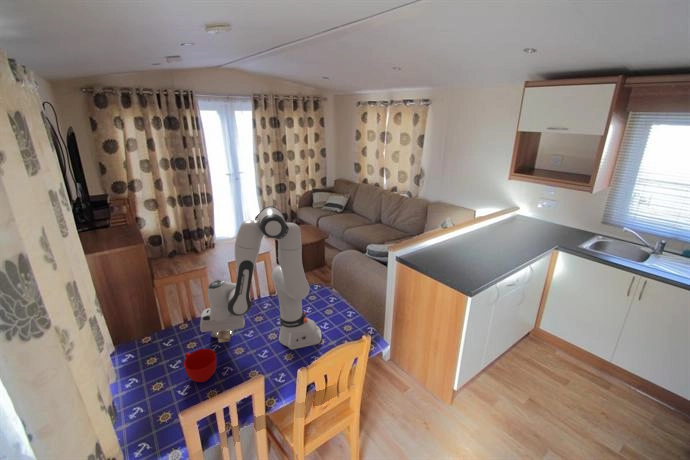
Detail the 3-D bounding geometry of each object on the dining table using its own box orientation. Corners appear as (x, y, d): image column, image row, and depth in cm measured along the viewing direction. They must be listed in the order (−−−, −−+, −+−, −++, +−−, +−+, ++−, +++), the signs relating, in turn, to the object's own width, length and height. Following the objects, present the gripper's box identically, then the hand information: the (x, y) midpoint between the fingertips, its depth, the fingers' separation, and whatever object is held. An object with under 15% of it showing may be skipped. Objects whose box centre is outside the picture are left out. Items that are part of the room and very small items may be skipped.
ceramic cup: (200, 358, 153) (197, 341, 150) (225, 373, 146) (222, 355, 142) (175, 376, 143) (171, 359, 139) (200, 393, 135) (196, 374, 132)
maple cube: (231, 334, 160) (230, 326, 158) (229, 341, 155) (228, 333, 154) (220, 335, 159) (219, 327, 158) (218, 342, 155) (217, 334, 153)
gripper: (244, 306, 156) (247, 329, 161) (200, 310, 153) (204, 333, 158) (242, 314, 150) (245, 338, 155) (196, 318, 147) (201, 342, 152)
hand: (224, 335), depth 157 cm, fingers closed on maple cube, 5 cm apart
